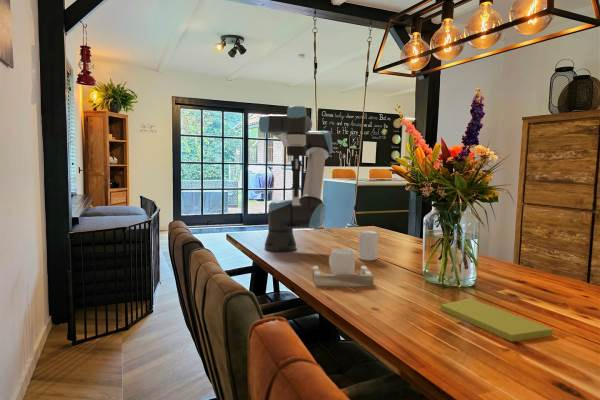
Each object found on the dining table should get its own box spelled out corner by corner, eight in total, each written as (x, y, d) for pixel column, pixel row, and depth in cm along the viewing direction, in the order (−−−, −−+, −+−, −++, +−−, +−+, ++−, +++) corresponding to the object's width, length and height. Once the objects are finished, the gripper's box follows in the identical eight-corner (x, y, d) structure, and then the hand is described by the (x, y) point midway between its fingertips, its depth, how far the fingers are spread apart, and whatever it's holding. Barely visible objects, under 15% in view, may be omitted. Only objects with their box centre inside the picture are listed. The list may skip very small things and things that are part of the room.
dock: (312, 275, 143) (312, 265, 143) (365, 275, 144) (365, 265, 144) (315, 286, 130) (315, 276, 130) (373, 286, 131) (373, 276, 131)
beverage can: (356, 260, 166) (357, 232, 165) (360, 255, 173) (361, 229, 172) (375, 262, 163) (376, 234, 162) (378, 257, 170) (379, 230, 169)
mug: (320, 275, 143) (320, 248, 142) (338, 272, 147) (339, 245, 146) (340, 284, 132) (341, 254, 131) (359, 280, 137) (359, 252, 136)
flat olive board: (440, 312, 111) (520, 348, 89) (440, 304, 110) (521, 339, 89) (469, 305, 116) (552, 337, 95) (470, 298, 116) (552, 329, 95)
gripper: (286, 146, 160) (286, 203, 163) (287, 145, 147) (286, 206, 150) (304, 146, 161) (304, 203, 163) (306, 145, 148) (306, 206, 150)
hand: (295, 204), depth 156 cm, fingers closed
